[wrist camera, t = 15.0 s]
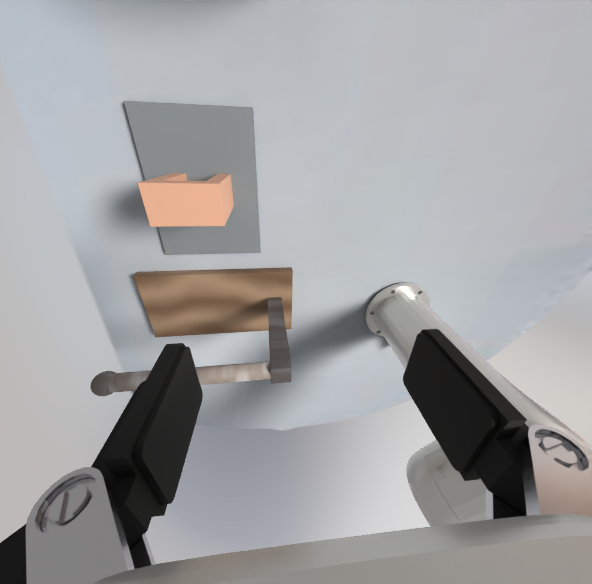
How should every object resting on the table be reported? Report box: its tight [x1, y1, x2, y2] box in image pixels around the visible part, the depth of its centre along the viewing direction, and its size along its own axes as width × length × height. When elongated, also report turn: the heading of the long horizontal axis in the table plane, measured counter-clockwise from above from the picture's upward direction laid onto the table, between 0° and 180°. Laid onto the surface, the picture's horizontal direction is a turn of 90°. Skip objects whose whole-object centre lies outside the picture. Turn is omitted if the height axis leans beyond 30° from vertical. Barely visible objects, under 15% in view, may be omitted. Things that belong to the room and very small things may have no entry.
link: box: [138, 173, 234, 227], centre depth 27 cm, size 7×4×10 cm, turn 89°
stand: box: [91, 268, 292, 396], centre depth 34 cm, size 12×24×17 cm, turn 89°
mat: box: [124, 101, 260, 254], centre depth 32 cm, size 18×14×1 cm
